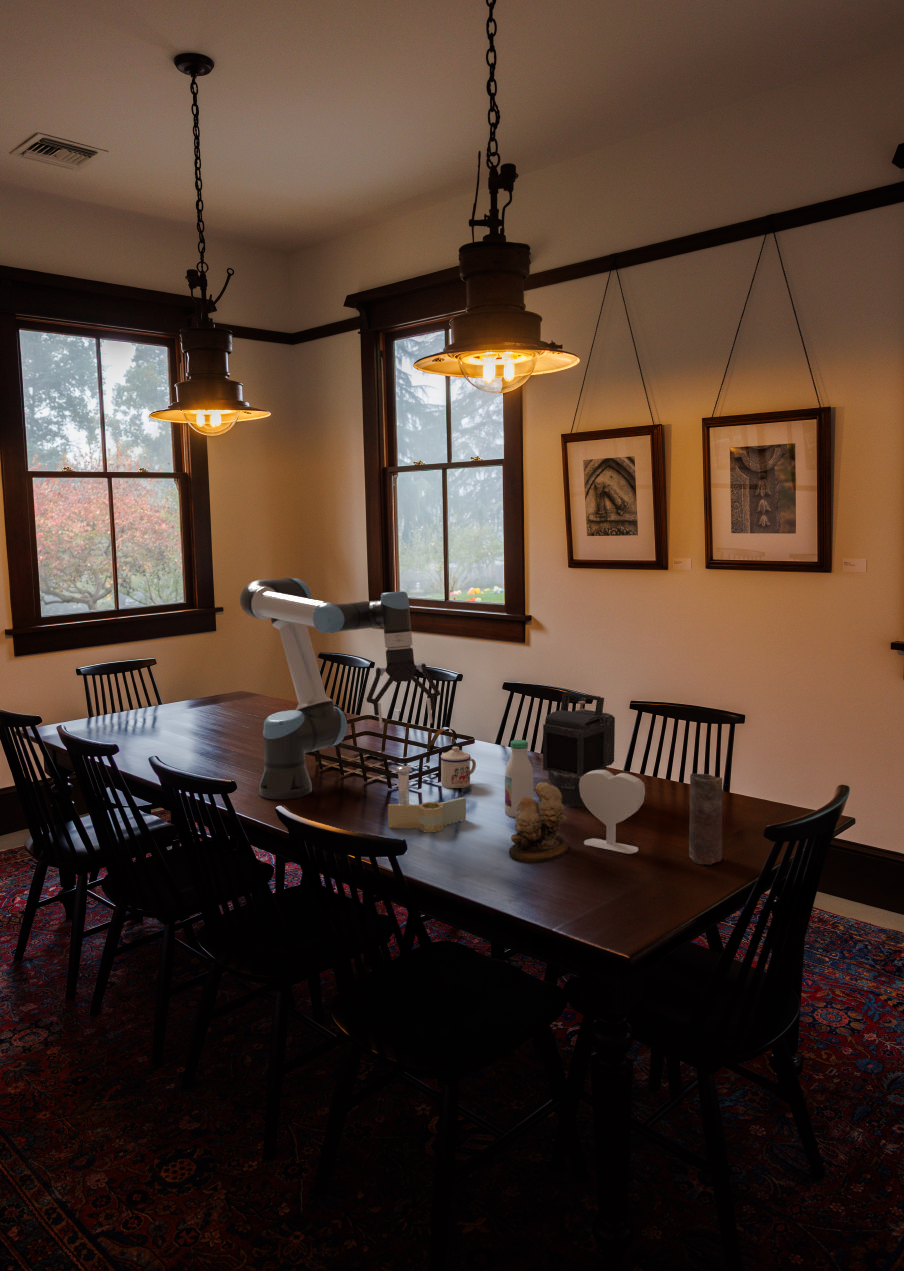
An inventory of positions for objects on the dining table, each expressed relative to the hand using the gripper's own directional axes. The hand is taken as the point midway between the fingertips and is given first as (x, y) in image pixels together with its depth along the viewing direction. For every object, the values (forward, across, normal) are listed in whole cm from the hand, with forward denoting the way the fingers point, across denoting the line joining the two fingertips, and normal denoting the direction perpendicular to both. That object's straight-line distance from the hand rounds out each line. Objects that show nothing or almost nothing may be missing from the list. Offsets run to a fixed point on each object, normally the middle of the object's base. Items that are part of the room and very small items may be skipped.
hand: (406, 724), depth 238 cm
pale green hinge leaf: (+25, +7, -15) cm, 30 cm away
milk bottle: (+26, +28, -8) cm, 39 cm away
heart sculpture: (+29, +45, -35) cm, 64 cm away
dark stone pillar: (+31, +64, -47) cm, 85 cm away
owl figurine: (+28, +27, -36) cm, 53 cm away
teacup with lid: (+23, +16, +21) cm, 35 cm away
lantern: (+27, +47, +2) cm, 54 cm away
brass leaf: (+24, -1, -16) cm, 29 cm away
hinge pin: (+23, -3, -4) cm, 24 cm away
